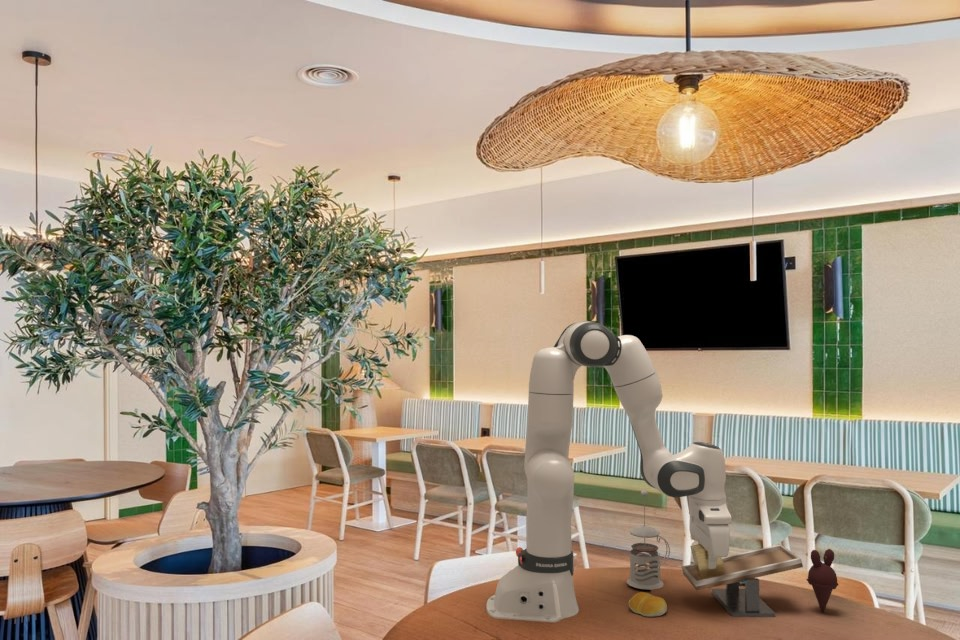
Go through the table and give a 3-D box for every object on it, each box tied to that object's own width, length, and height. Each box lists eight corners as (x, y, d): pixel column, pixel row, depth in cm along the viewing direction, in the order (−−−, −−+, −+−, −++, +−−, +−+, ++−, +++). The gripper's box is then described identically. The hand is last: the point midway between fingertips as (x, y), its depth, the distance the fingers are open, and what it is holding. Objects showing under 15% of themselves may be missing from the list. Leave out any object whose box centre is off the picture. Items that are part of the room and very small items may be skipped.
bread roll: (653, 620, 163) (652, 603, 163) (623, 611, 170) (622, 594, 170) (675, 610, 168) (674, 593, 169) (645, 601, 175) (644, 585, 175)
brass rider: (701, 578, 172) (695, 550, 172) (696, 573, 176) (690, 545, 176) (725, 573, 172) (718, 545, 172) (720, 568, 176) (713, 540, 176)
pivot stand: (733, 618, 166) (732, 580, 166) (711, 593, 181) (711, 559, 182) (775, 618, 165) (775, 580, 166) (750, 593, 181) (749, 559, 182)
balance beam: (698, 596, 168) (695, 582, 168) (684, 579, 179) (681, 566, 180) (804, 572, 168) (801, 558, 168) (783, 556, 179) (780, 544, 179)
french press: (621, 577, 194) (621, 486, 194) (662, 575, 195) (661, 485, 195) (633, 590, 184) (632, 494, 184) (675, 588, 185) (675, 493, 186)
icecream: (827, 605, 173) (826, 544, 174) (846, 617, 166) (845, 553, 166) (800, 606, 172) (799, 545, 173) (818, 618, 165) (817, 554, 165)
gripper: (683, 498, 184) (683, 551, 184) (707, 519, 164) (707, 578, 164) (707, 498, 184) (707, 551, 184) (734, 518, 164) (735, 578, 164)
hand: (708, 564), depth 174 cm, fingers closed on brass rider, 4 cm apart
